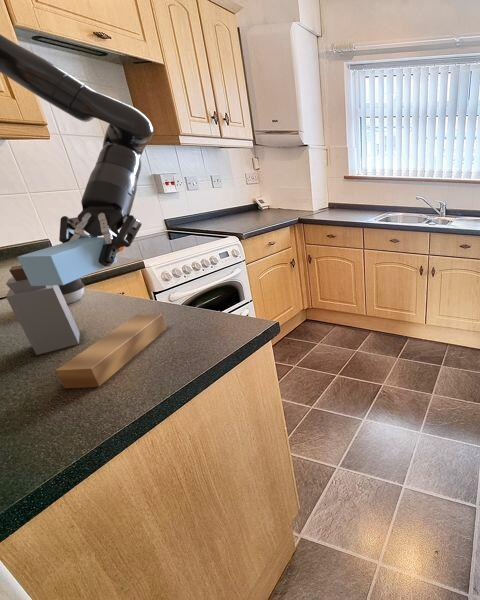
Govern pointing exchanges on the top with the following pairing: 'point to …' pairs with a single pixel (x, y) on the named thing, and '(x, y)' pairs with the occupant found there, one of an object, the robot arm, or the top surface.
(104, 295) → the top surface
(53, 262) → the light blue bottle
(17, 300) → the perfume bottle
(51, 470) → the top surface
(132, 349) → the wooden board
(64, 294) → the pump dispenser
